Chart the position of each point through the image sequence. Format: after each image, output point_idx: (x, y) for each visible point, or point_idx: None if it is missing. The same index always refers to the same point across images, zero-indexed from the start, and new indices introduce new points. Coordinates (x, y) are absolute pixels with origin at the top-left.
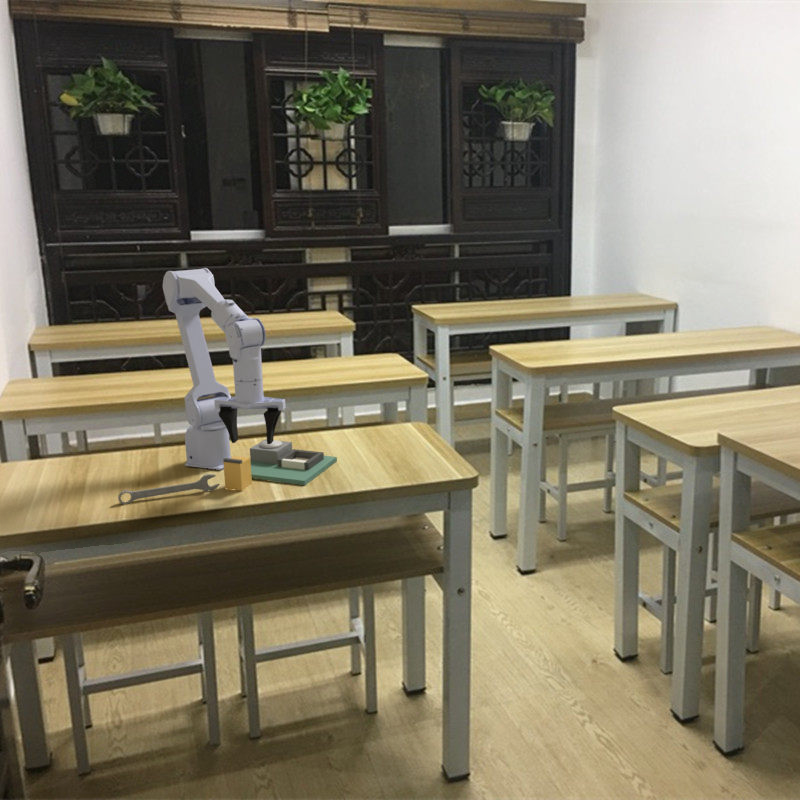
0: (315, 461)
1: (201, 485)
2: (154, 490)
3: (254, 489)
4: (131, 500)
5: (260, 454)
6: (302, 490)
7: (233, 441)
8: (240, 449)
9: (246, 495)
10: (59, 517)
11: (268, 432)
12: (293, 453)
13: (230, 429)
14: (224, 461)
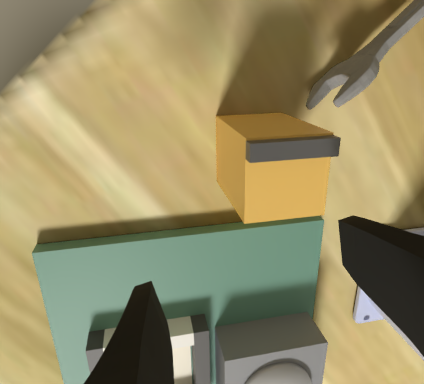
0: None
1: (358, 55)
2: None
3: (183, 146)
4: None
5: (282, 336)
6: (12, 203)
7: (348, 220)
8: (378, 370)
9: (178, 85)
10: None
11: (129, 332)
12: None
13: (413, 246)
14: (330, 136)
